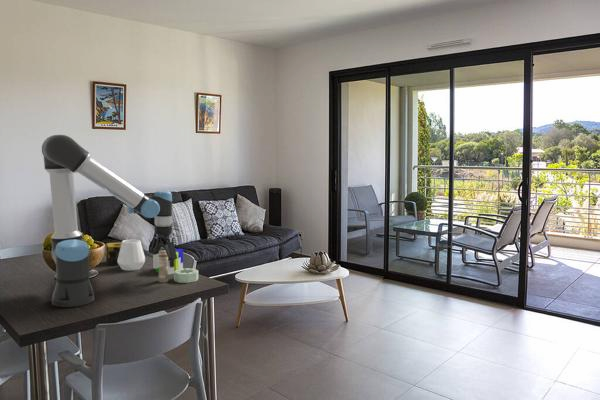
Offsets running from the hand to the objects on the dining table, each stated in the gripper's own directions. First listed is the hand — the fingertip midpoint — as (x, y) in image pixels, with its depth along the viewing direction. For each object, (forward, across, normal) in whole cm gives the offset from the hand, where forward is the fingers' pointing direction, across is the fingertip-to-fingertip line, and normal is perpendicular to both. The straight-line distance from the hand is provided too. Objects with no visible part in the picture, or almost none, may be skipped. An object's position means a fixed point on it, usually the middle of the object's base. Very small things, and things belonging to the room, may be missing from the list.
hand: (163, 271), depth 218 cm
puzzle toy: (+5, +16, -12) cm, 21 cm away
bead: (+5, -4, -10) cm, 11 cm away
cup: (+5, +31, +1) cm, 31 cm away
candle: (+5, +46, +2) cm, 46 cm away
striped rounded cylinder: (+5, 0, 0) cm, 5 cm away
